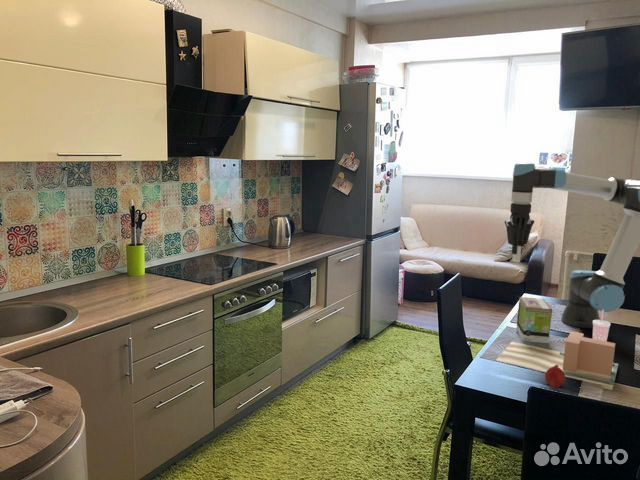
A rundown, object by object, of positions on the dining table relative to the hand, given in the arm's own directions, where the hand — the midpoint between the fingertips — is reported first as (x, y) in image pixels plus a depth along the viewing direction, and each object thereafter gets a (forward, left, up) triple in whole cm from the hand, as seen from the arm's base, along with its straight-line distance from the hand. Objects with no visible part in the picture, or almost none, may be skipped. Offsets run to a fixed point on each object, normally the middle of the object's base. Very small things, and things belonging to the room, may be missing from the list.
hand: (516, 261), depth 212 cm
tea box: (-4, +8, -30) cm, 31 cm away
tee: (+1, +40, -28) cm, 49 cm away
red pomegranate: (+22, +46, -30) cm, 59 cm away
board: (+7, +32, -29) cm, 44 cm away
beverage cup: (-24, +22, -30) cm, 44 cm away
